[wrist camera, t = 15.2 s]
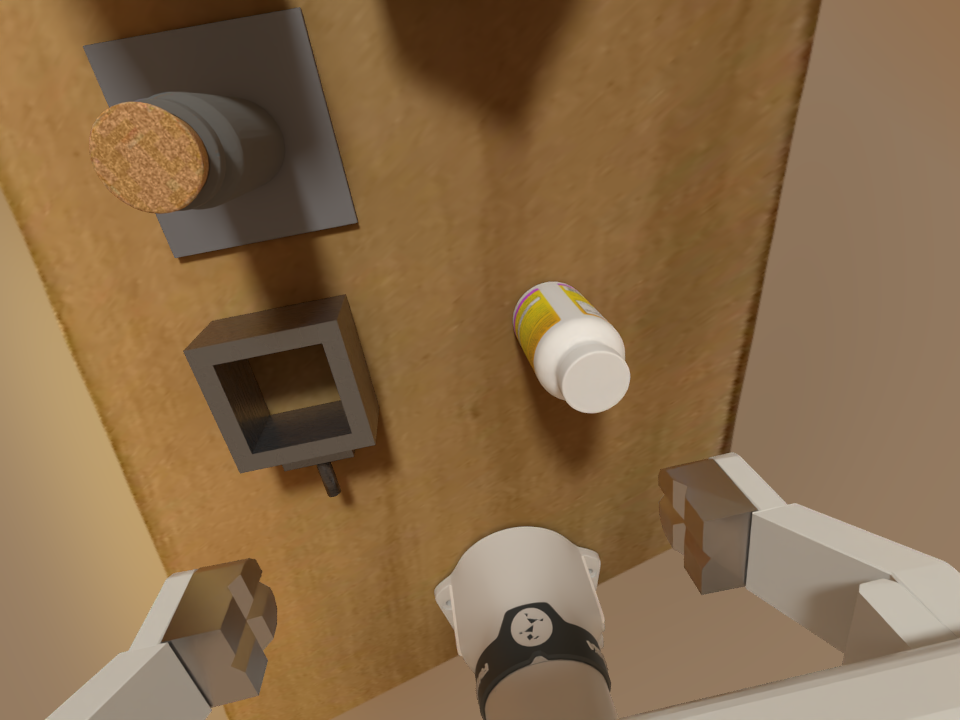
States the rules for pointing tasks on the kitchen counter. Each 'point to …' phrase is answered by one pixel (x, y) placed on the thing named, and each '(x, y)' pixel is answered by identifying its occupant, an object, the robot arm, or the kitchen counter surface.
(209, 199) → the bottle
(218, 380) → the frame
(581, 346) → the supplement bottle
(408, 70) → the kitchen counter surface
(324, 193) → the pad
